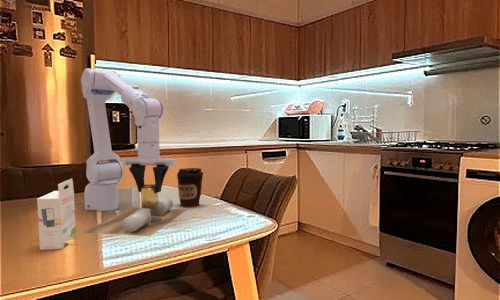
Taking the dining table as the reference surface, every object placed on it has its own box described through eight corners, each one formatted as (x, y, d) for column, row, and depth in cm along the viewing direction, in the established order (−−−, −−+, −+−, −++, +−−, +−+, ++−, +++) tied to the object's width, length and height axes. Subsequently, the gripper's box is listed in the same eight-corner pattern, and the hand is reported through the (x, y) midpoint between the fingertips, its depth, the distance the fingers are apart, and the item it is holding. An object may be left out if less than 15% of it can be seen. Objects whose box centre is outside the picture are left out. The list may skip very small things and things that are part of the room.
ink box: (55, 237, 89) (53, 178, 88) (76, 237, 89) (74, 177, 88) (38, 250, 80) (35, 184, 79) (61, 249, 81) (58, 184, 79)
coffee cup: (197, 212, 114) (197, 170, 113) (173, 210, 115) (172, 170, 114) (206, 205, 122) (206, 167, 121) (183, 204, 124) (182, 166, 123)
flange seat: (135, 222, 99) (135, 221, 99) (145, 216, 104) (145, 216, 104) (156, 223, 98) (156, 222, 98) (165, 217, 103) (165, 217, 103)
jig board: (82, 235, 90) (82, 231, 90) (133, 210, 116) (132, 207, 116) (150, 239, 87) (150, 235, 87) (187, 212, 113) (187, 209, 113)
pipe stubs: (121, 233, 90) (120, 214, 90) (159, 210, 113) (159, 195, 112) (139, 234, 89) (138, 215, 89) (174, 211, 112) (173, 196, 112)
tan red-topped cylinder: (138, 208, 99) (137, 186, 98) (145, 204, 103) (145, 183, 102) (154, 208, 98) (153, 186, 97) (160, 205, 102) (159, 183, 102)
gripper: (116, 143, 97) (117, 193, 98) (168, 143, 94) (168, 195, 95) (129, 141, 103) (130, 188, 105) (177, 142, 101) (178, 190, 102)
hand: (149, 191), depth 100 cm, fingers closed on tan red-topped cylinder, 4 cm apart
